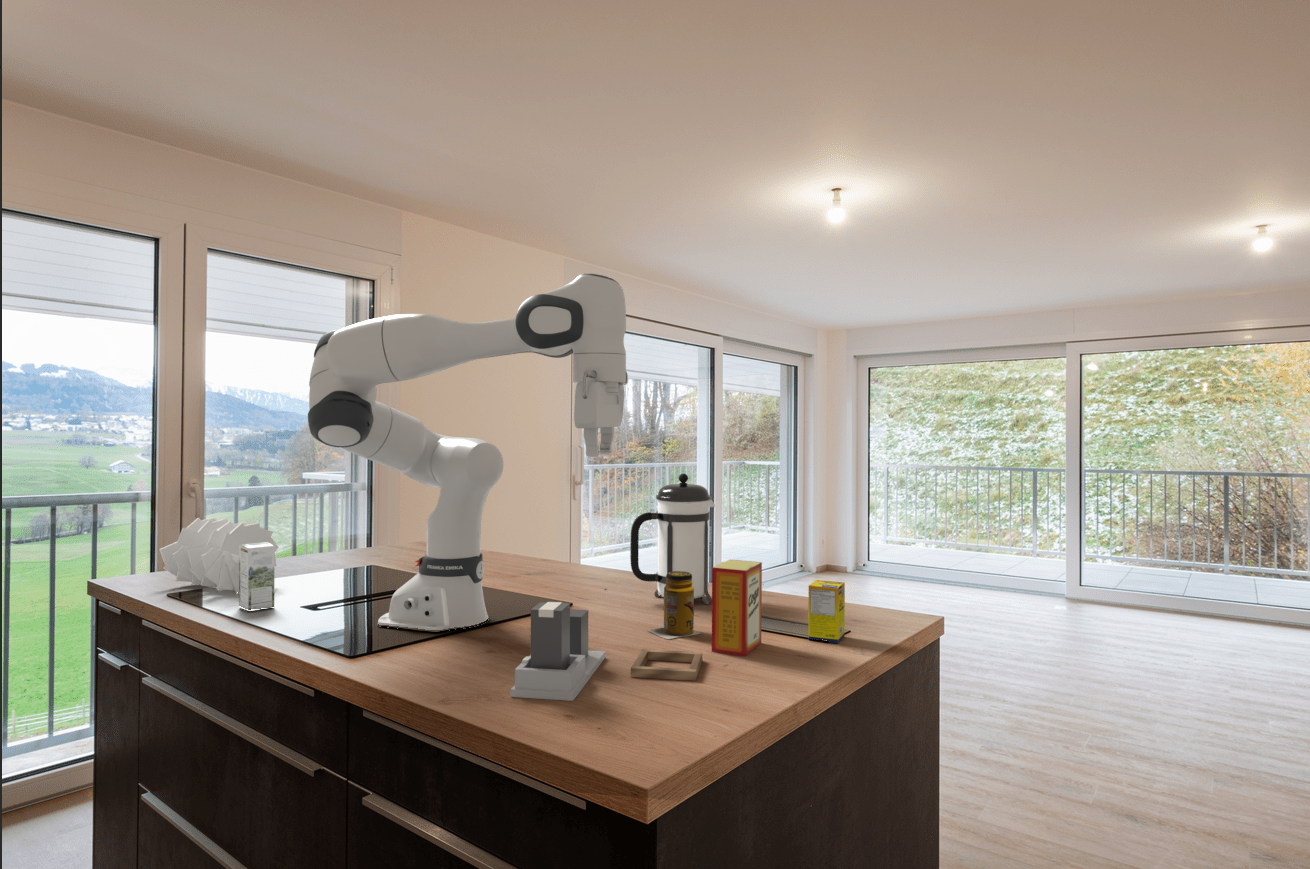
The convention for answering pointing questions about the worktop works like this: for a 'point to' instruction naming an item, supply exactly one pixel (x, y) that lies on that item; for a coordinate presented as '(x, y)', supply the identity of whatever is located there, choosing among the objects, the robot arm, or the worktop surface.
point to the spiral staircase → (212, 552)
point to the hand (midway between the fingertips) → (599, 455)
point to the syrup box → (256, 575)
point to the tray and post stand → (561, 681)
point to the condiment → (678, 606)
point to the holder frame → (667, 673)
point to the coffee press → (678, 536)
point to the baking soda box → (736, 607)
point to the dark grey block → (550, 636)
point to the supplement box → (826, 611)
